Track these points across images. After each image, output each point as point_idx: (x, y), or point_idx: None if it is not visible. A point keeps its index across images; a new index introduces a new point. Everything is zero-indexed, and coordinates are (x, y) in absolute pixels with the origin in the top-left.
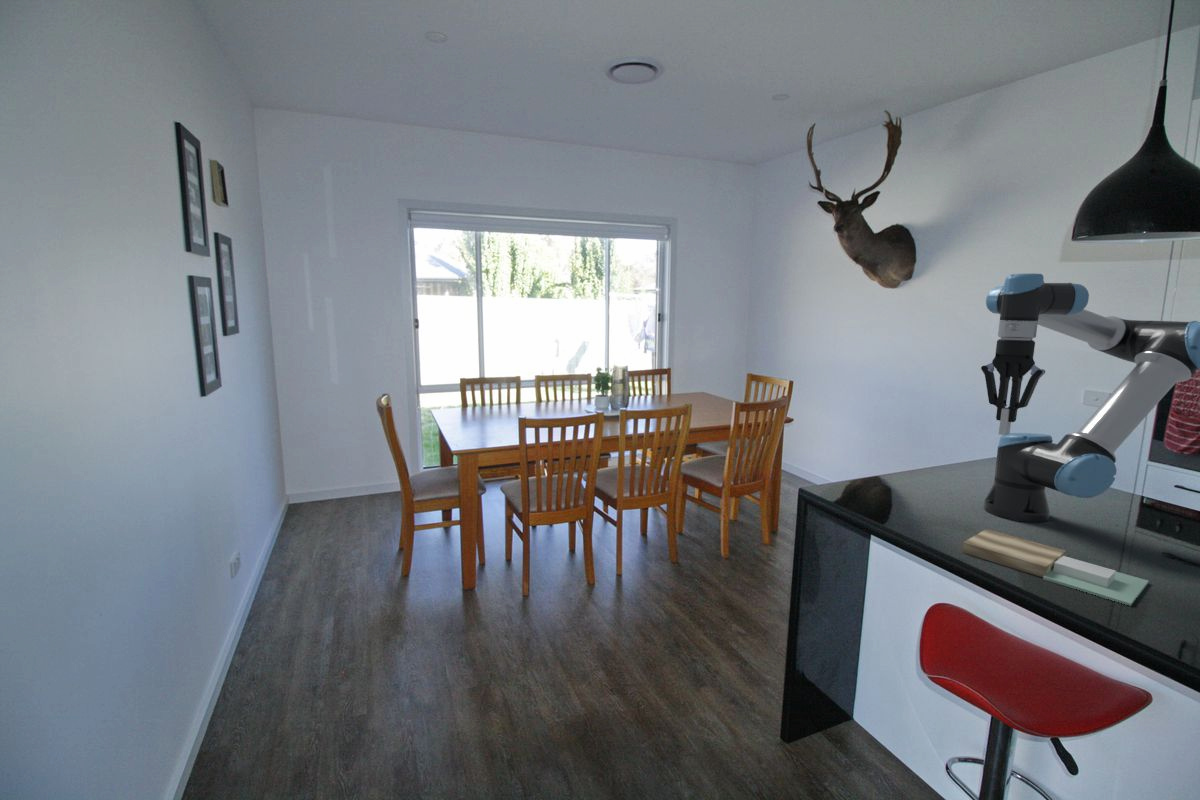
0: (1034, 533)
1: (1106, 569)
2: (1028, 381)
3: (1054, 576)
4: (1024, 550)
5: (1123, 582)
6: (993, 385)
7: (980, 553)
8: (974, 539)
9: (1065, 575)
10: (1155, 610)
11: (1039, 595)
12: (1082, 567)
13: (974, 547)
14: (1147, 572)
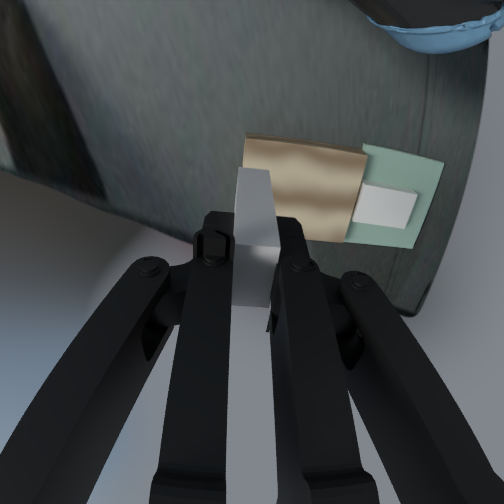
0: (310, 33)
1: (408, 198)
2: (396, 492)
3: (350, 231)
4: (315, 201)
5: (419, 191)
6: (111, 417)
7: None
8: None
9: None
10: (429, 238)
11: None
12: (383, 213)
13: None
14: (448, 118)
